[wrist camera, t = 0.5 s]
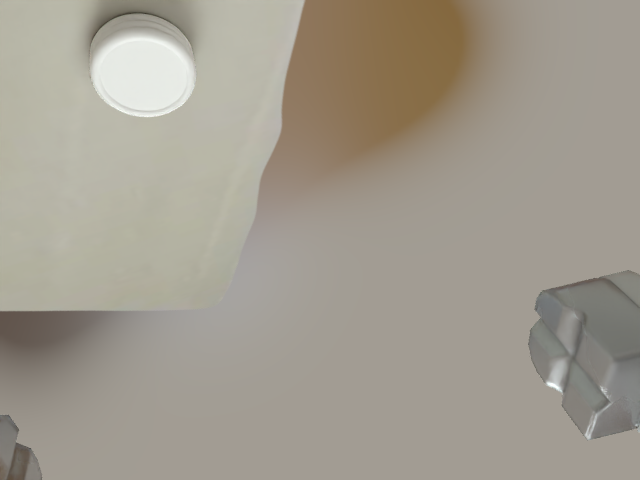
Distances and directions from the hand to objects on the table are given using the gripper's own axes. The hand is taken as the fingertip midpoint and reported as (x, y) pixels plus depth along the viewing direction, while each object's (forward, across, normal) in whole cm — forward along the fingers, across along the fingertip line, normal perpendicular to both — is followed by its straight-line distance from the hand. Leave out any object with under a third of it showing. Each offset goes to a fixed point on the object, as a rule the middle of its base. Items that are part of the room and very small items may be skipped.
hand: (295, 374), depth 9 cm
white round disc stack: (+54, +6, +10) cm, 55 cm away
